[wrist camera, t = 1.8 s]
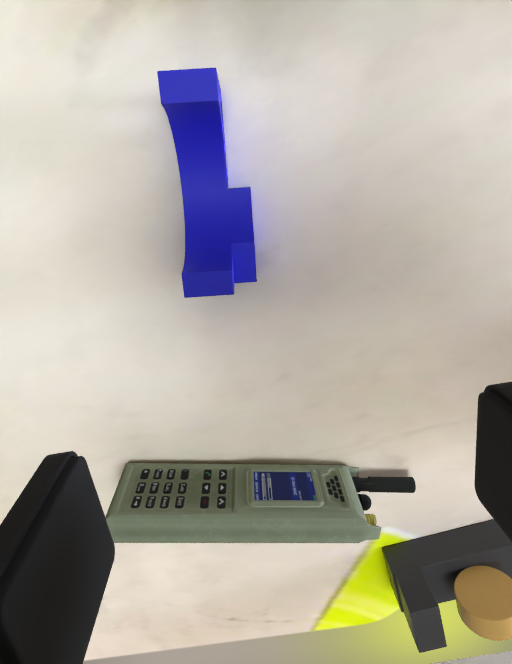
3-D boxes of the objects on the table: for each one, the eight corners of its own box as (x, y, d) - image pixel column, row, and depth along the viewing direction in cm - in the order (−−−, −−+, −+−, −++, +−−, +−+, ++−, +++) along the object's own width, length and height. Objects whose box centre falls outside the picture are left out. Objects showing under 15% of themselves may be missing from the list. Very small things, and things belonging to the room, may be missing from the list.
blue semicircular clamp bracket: (255, 272, 32) (258, 292, 26) (194, 276, 32) (184, 297, 26) (243, 89, 28) (244, 65, 22) (174, 93, 28) (157, 71, 22)
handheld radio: (124, 455, 37) (411, 458, 38) (127, 486, 38) (405, 488, 39) (101, 516, 30) (445, 517, 32) (105, 550, 32) (436, 550, 33)
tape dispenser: (506, 516, 40) (567, 593, 33) (510, 554, 42) (569, 636, 34) (381, 547, 41) (413, 629, 34) (390, 583, 43) (423, 670, 35)
